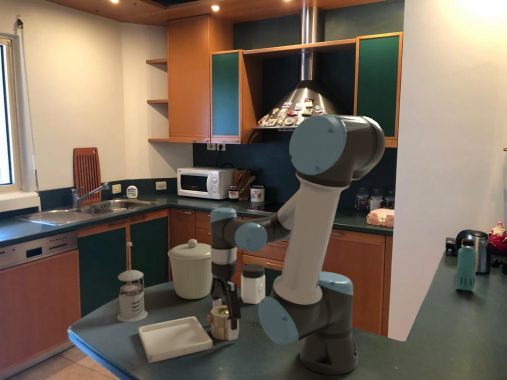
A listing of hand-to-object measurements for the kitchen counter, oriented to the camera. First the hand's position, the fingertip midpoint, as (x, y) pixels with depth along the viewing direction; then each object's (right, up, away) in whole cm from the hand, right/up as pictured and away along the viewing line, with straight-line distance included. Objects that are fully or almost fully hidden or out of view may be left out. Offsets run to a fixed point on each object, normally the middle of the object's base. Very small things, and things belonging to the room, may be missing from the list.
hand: (224, 328), depth 122 cm
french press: (-31, 0, +13) cm, 34 cm away
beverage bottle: (+89, +3, +32) cm, 94 cm away
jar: (+8, +2, +25) cm, 26 cm away
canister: (-14, +3, +30) cm, 33 cm away
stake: (0, -1, 0) cm, 1 cm away
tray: (-14, -2, -4) cm, 15 cm away
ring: (0, -1, 0) cm, 1 cm away
